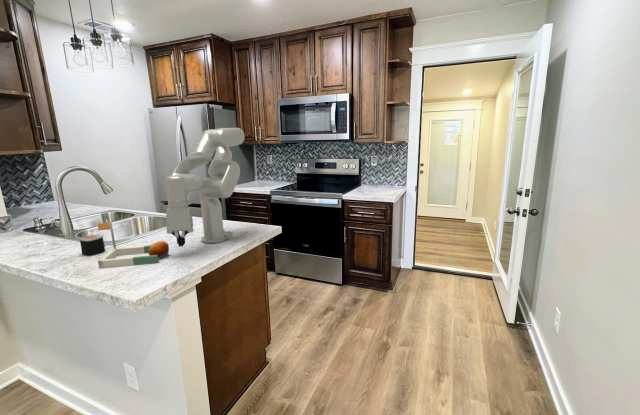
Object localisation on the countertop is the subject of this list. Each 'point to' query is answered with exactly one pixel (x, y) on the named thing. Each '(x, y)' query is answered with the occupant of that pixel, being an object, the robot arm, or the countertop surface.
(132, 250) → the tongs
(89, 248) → the sushi
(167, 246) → the fruit
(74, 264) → the countertop surface
